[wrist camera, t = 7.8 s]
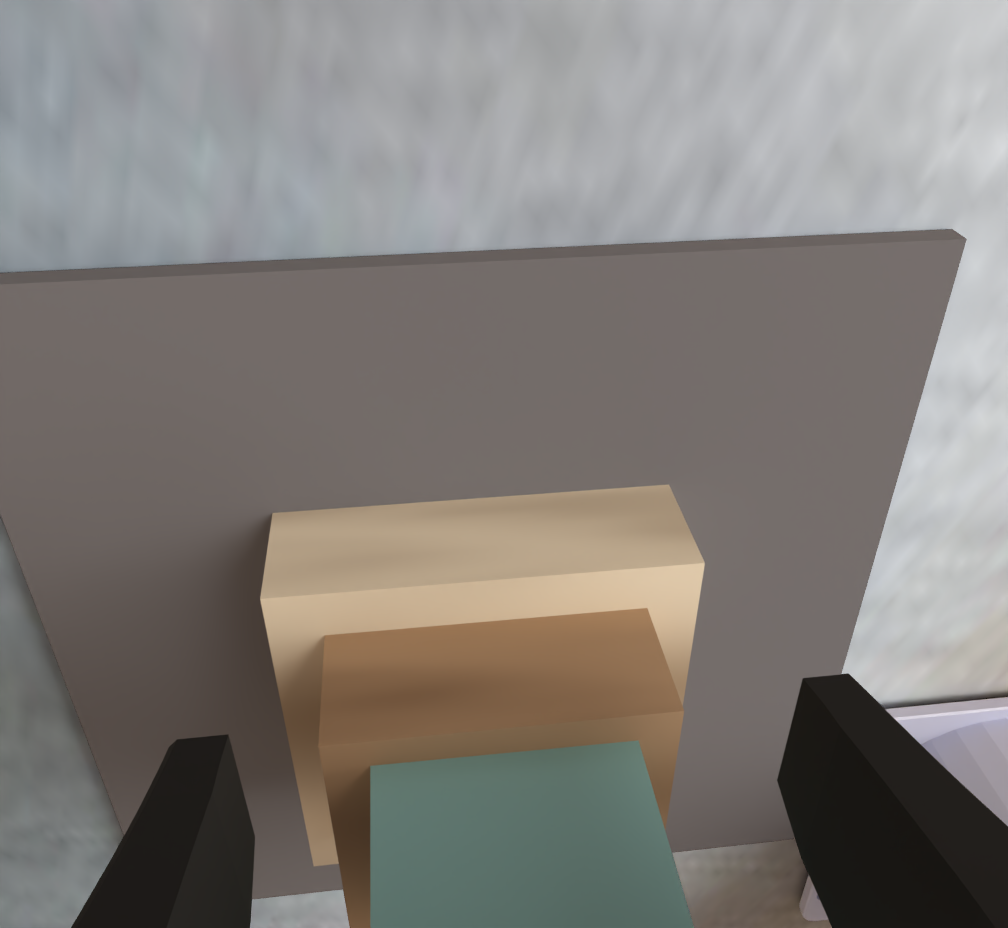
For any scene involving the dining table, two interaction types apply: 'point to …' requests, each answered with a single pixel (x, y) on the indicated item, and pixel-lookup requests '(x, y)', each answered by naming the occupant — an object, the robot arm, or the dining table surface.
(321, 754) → the walnut slab
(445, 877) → the teal block
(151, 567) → the charcoal mat
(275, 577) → the birch slab
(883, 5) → the dining table surface
